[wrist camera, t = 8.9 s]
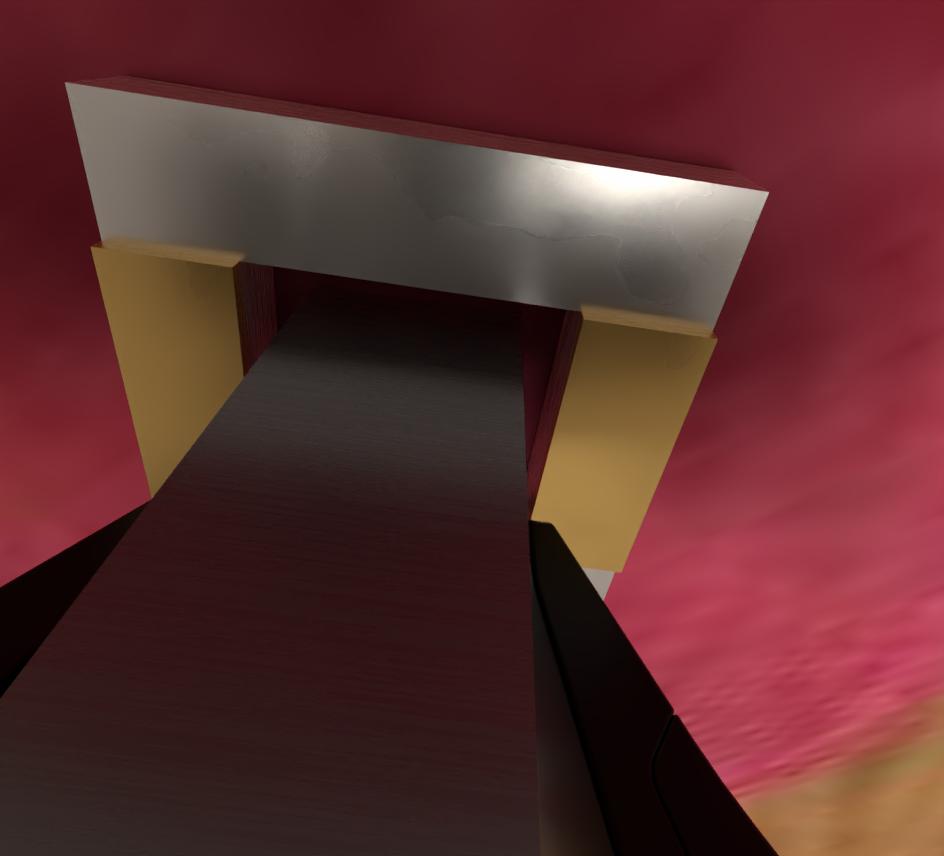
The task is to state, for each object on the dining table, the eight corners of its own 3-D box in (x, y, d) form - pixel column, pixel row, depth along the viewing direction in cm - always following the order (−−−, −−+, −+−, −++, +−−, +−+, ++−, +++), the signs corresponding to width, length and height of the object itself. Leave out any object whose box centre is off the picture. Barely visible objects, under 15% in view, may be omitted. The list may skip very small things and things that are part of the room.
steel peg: (321, 445, 14) (29, 1096, 5) (316, 281, 11) (-211, 977, 3) (491, 468, 14) (462, 1139, 5) (520, 310, 11) (548, 1058, 3)
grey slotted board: (258, 822, 25) (243, 872, 24) (124, 75, 9) (51, 84, 8) (486, 849, 25) (485, 900, 24) (735, 170, 10) (776, 196, 8)
